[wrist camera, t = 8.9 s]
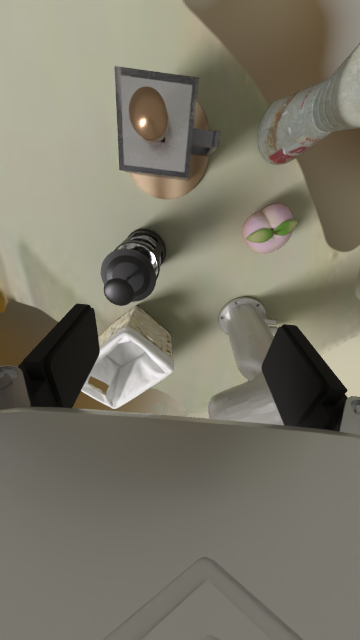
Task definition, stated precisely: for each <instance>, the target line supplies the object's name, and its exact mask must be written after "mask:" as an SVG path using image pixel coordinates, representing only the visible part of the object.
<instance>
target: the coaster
mask: <svg viewBox="0 0 360 640" xmlns="http://www.w3.org/2000/svg"><path fill="white" fill-rule="evenodd" d="M194 128H197V129H204V130H209V126H208V122H207V119H206V116H205V114H204V112H203V109H202V108H201V106H200V104H199V103H198V101H197V100H196V108H195V118H194ZM208 160H209V157H207V156H199V155H191V157H190V167H189V177H188V181H185V180H177V179H168V178H160V177H152V176H144V175H138V174H134V173H130V172H129V173H130V175H131V177H132V178H133V180H134V181H135V183H136V184H137V185H138V186H139V187H140V188H141V189H142V190H143V191H145V192H146V193H148V194H150V195H152V196H154V197H157V198H160V199H174V198H178V197H181V196H183V195H185V194H186V193H188V192H189V191H191V190H192V189H193V188H194V187H195V186H196V185H197V183H198V182H199V181H200V179H201V178H202V176H203V174H204V172H205V169H206V167H207V164H208Z"/></svg>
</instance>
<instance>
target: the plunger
mask: <svg viewBox="0 0 360 640" xmlns="http://www.w3.org/2000/svg"><path fill="white" fill-rule="evenodd" d="M129 117H130V121H131V124H132V126H133V128H134V130H135V131H136V132H137V133H138V134H139V135H140V137H141V138H142V139H143V140H144V141H146V142H148V143H151V144H156V143H159V142H164V143H165V136H166V134H167V131H168V127H169V118H168V113H167V109H166V105H165V102H164V100H163V98H162V96H161V95H160V93H159V92H158V91H157V90H155V89H154V88H152V87H147V86H145V87H141V88H139V89H138V90H136V91H135V93H134V94H133V96H132V98H131V100H130V104H129Z"/></svg>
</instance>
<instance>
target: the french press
mask: <svg viewBox="0 0 360 640" xmlns="http://www.w3.org/2000/svg"><path fill="white" fill-rule="evenodd" d="M141 235H146V236H149V237H152V238H153V239H154V240H155V241H156V242H157V245H155V244H154V243H153V242H151V241H150V240H148V239H146V238H143V237H138V236H141ZM121 245H123V246H122V247H121V249H118V248H119V247H120V246H121ZM117 249H118V250H117ZM165 255H166V248H165V244H164V242H163V240H162V238H161V237H160V236H159V235H158V234H157V233H155V232H154V231H152V230H149V229H138V230H135V231H134V232H132V233H131V234H130V235H129V236H128V238H127V239H126V240H125V241H123V242H122V243H121V244H120V245H119V246H118V247H117V248H116V249H115V250H114V251H113V252H112V253H110V254H109V255H108V256H107V257H106V258H105V259H104V261H103V263H102V267H101V277H102V280H103V283H104V285H105V286H104V294H105V296H106V298H107V299H108V300H109V301H110V302H111V303H113V304H115V305H119V306H123V305H127V304H129V303H130V302H131V301H132V302H134V301H140V300H143V299H145V298H146V297H148V296H149V295H150V294H151V293H152V291H153V290H154V287H155V284H156V280H157V277H158V275H159V271H160V266H161V264H162V263H163V261H164V259H165ZM157 270H158V274H157V276H156V272H157Z"/></svg>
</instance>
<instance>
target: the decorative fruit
mask: <svg viewBox="0 0 360 640" xmlns="http://www.w3.org/2000/svg"><path fill="white" fill-rule="evenodd" d="M298 222H299V221H298V220H296V219H293V216H292V213H291V211H290V210H289V208H288V207H287V206H286V205H284V204H280V203H276V204H272V205H269V206H267V207H265V208H264V209H263V210H262V211H260V212H257V213H254V214H253V215H251V216H250V217H249V218H248V219H247V220H246V222H245V223H244V225H243V229H242V236H243V239H244V240H245V242H246V244H247V245H248V246H249V247H250V248H251V249H252V250H253V251H255V252H257V253H270V252H273V251H275V250H277V249H279V248H281V247H282V246H283V245H284V244H285V243H286V242H287V241H288V240H289V238H290V236H291V234H292V231H293V230H294V228H295V227H296V226H297V224H298Z"/></svg>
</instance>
